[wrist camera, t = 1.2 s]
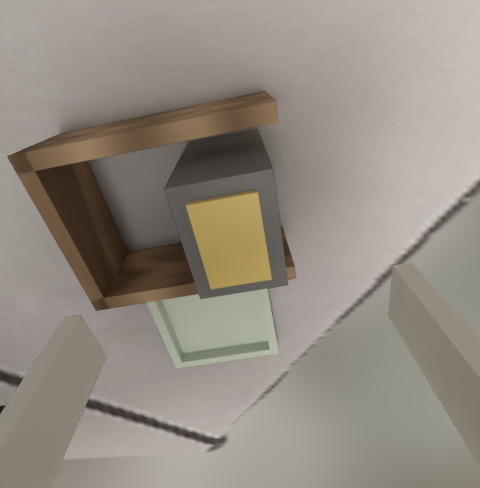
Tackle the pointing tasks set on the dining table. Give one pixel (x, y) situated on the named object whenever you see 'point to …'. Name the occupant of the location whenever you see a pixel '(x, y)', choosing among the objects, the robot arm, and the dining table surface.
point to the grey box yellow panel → (228, 215)
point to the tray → (216, 327)
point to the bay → (97, 213)
